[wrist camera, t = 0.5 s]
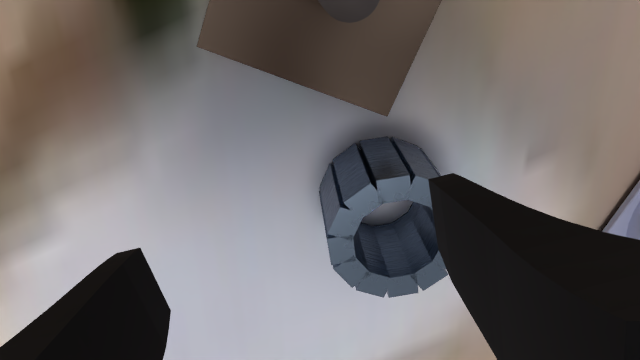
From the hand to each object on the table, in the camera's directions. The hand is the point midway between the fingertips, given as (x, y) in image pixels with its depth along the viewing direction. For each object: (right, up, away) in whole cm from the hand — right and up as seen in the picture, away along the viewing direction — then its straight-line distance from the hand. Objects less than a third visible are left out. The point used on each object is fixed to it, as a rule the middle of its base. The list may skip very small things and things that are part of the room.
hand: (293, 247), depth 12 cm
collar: (+3, +1, +10) cm, 11 cm away
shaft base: (+1, +9, +6) cm, 11 cm away
